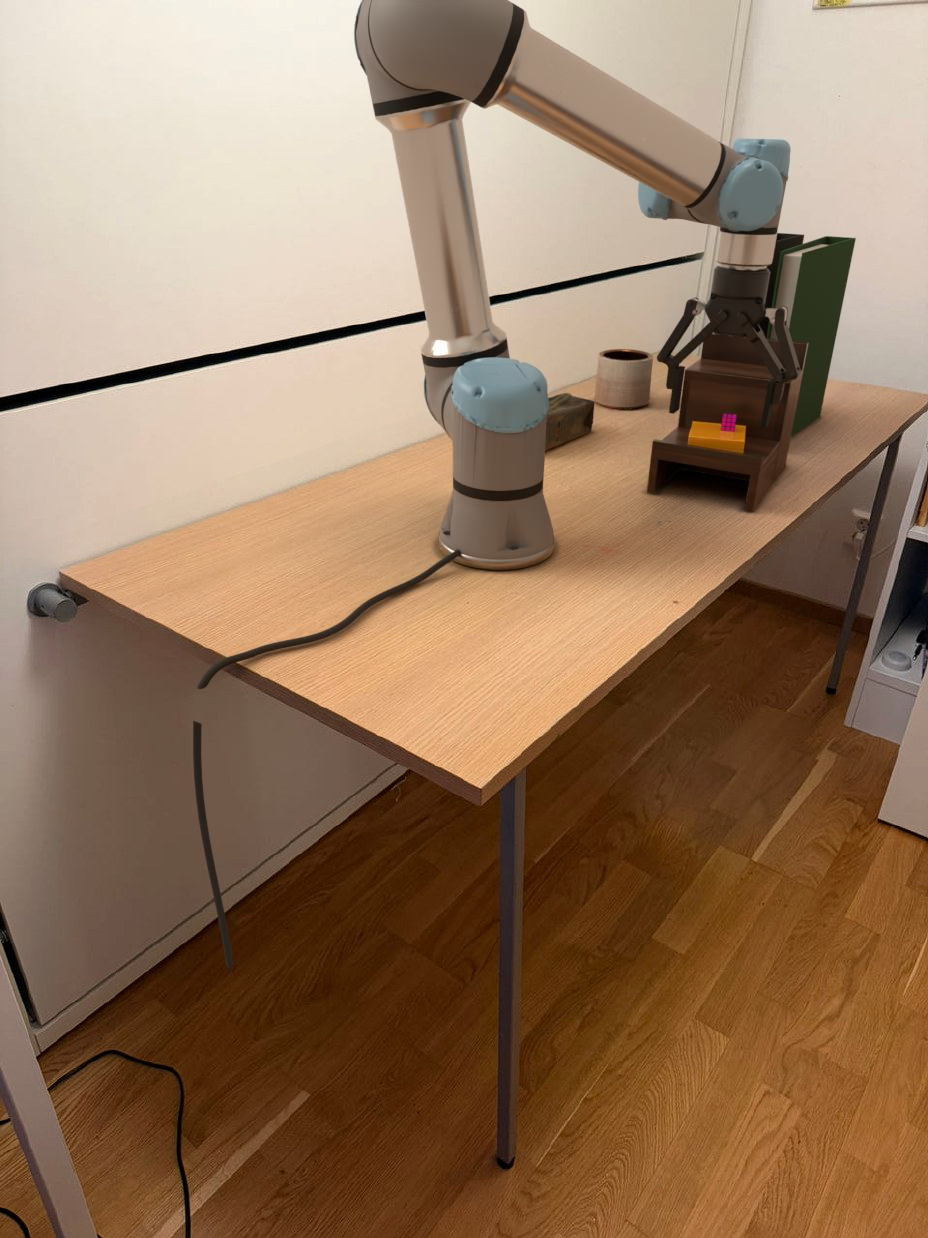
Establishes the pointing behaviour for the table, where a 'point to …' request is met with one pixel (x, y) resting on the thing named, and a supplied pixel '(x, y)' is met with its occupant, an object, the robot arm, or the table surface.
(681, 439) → the step shelf
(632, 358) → the planter
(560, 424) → the beverage carton
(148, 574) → the table surface
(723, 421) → the orange slab
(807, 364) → the books
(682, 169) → the robot arm
